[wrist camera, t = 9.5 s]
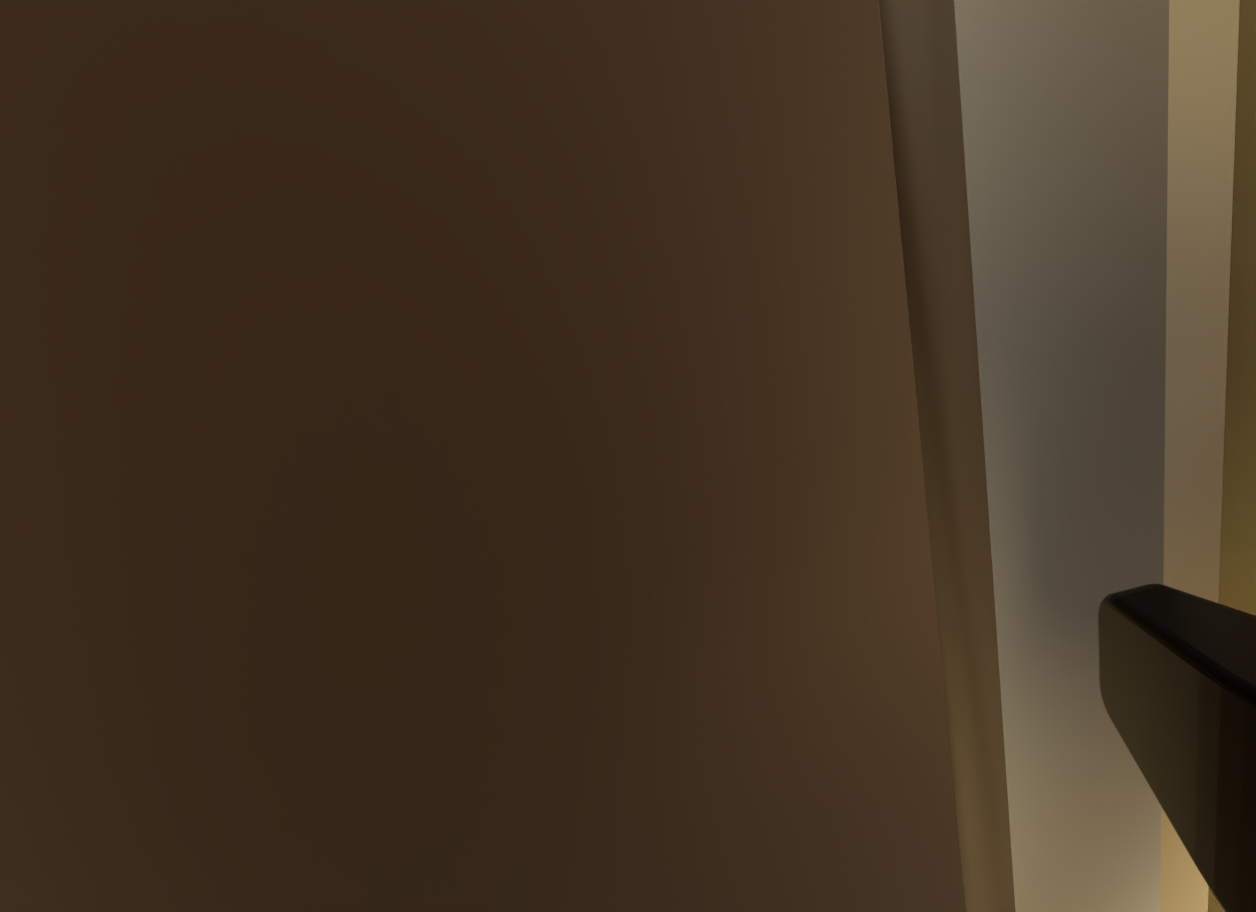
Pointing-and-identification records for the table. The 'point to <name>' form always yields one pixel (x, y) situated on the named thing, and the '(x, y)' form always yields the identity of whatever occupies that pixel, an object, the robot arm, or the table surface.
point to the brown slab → (461, 463)
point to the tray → (1063, 400)
